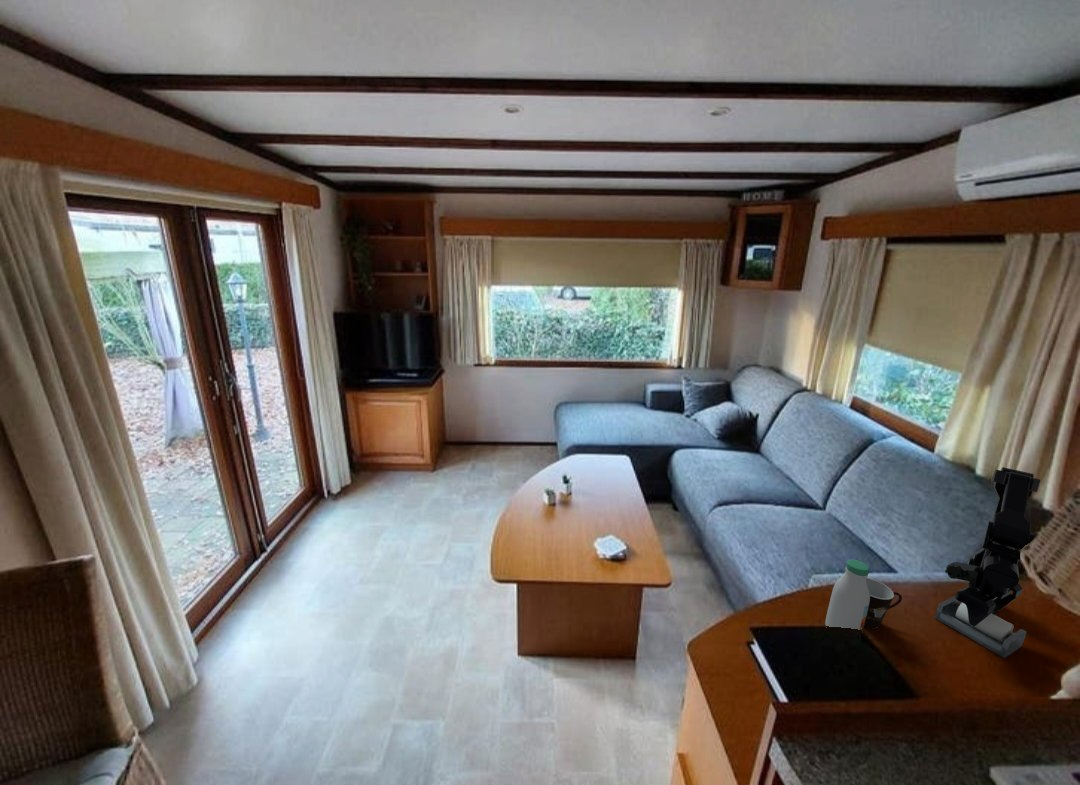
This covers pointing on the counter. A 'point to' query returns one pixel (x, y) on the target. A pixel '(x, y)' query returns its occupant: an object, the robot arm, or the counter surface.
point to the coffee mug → (878, 602)
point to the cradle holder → (948, 617)
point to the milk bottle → (850, 598)
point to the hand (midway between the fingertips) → (980, 620)
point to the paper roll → (987, 625)
